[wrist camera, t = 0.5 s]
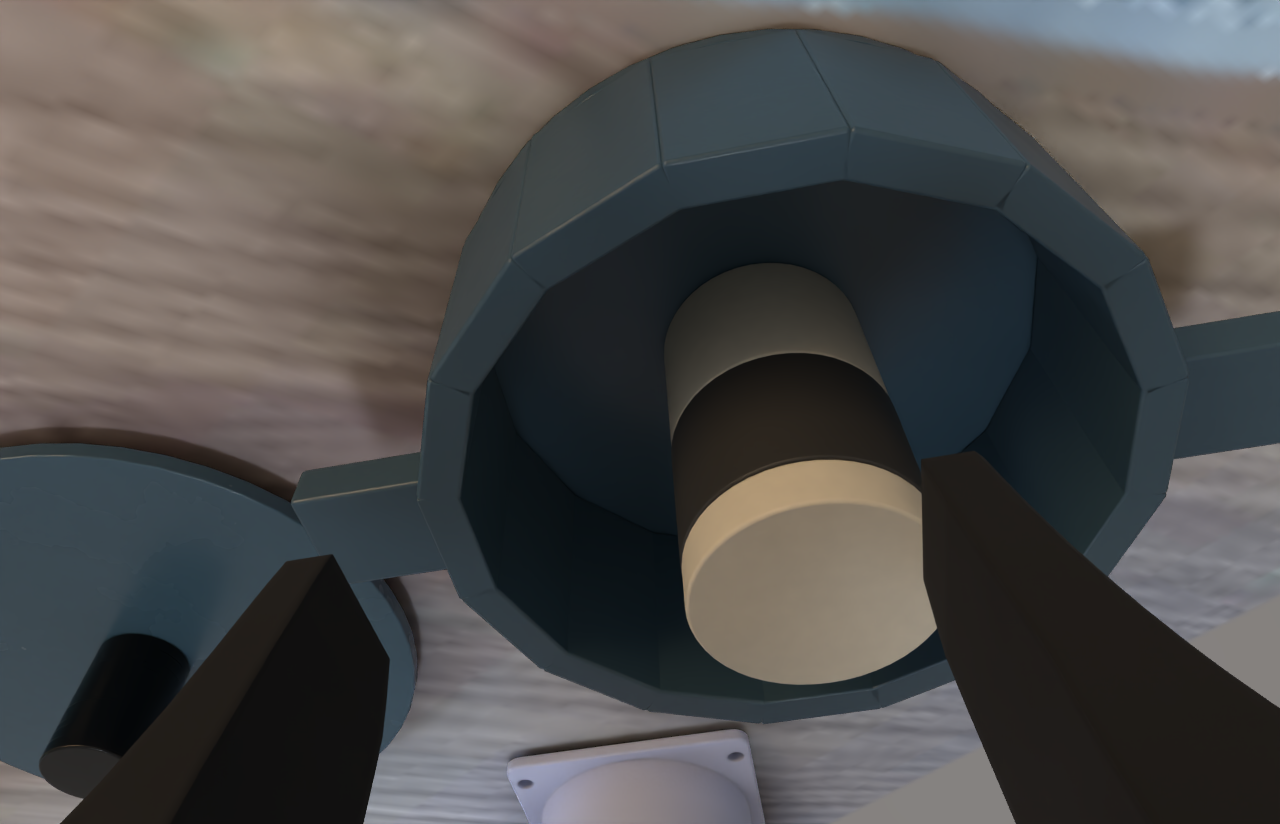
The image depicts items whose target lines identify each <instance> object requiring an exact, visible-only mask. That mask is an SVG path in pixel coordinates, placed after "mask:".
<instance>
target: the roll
mask: <svg viewBox="0 0 1280 824" xmlns="http://www.w3.org/2000/svg"><path fill="white" fill-rule="evenodd" d="M664 363H665V375H666V387H667V399H668V411H669V422H670V434H671V446H672V447H671V459H672V471H673V483H674V495H675V507H676V520H677V532H678V544H679V556H680V566H681V573H682V578H683V590H684V602H685V611H686V618H687V621H688V624H689V627H690V629H691V631H692V633H693V634H694V636H695V638H696V640H697V641H698V642H699V643H700V645H701V646H702V647H703V648H704V650H705V651H706V652H708V653H709V654H710V655H711V656H712V657H713V658H714V659H716V660H717V661H719V662H720V663H722V664H723V665H725V666H726V667H728V668H730V669H732V670H734V671H736V672H738V673H741V674H744V675H746V676H749V677H752V678H756V679H760V680H763V681H768V682H775V683H781V684H795V685H805V684H822V683H831V682H837V681H842V680H847V679H851V678H855V677H859V676H862V675H865V674H868V673H871V672H873V671H876V670H879V669H881V668H883V667H885V666H887V665H890V664H892V663H893V662H895V661H897V660H899V659H901V658H902V657H904V656H906V655H907V654H909V653H910V652H911V651H913V650H914V649H916V648H917V647H918V646H919V645H921V644H922V643H923V642H924V641H925V640H926V639H928V638H929V636H930V635H931V634H932V633H933V632H934V631H935V630H936V629H937V626H936V623H935V619H934V616H933V612H932V609H931V605H930V602H929V598H928V595H927V591H926V588H925V584H924V581H923V542H922V490H921V472H920V469H919V467H918V464H917V462H916V459H915V457H914V454H913V452H912V449H911V447H910V444H909V442H908V439H907V437H906V434H905V432H904V430H903V427H902V425H901V422H900V420H899V417H898V415H897V412H896V410H895V407H894V405H893V403H892V401H891V399H890V397H889V395H888V393H887V390H886V388H885V385H884V383H883V380H882V378H881V375H880V373H879V370H878V368H877V365H876V363H875V360H874V358H873V355H872V353H871V350H870V348H869V345H868V343H867V340H866V338H865V335H864V333H863V330H862V328H861V325H860V323H859V320H858V318H857V315H856V313H855V311H854V309H853V307H852V305H851V303H850V302H849V300H848V299H847V297H846V296H845V294H844V293H843V292H842V291H841V290H840V289H839V288H838V287H837V286H836V285H834V284H833V283H832V282H831V281H829V280H828V279H827V278H825V277H823V276H821V275H819V274H818V273H816V272H813V271H811V270H808V269H805V268H803V267H799V266H795V265H791V264H782V263H759V264H751V265H746V266H742V267H738V268H735V269H732V270H729V271H727V272H724V273H722V274H720V275H718V276H716V277H714V278H712V279H711V280H709V281H708V282H706V283H704V284H703V285H701V286H700V287H699V288H698V289H697V290H695V291H694V292H693V293H692V294H691V295H690V296H689V297H688V298H687V299H686V300H685V301H684V303H683V304H682V305H681V307H680V308H679V309H678V311H677V312H676V314H675V316H674V318H673V319H672V321H671V323H670V326H669V329H668V332H667V334H666V339H665V345H664Z"/></svg>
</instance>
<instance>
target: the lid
mask: <svg viewBox="0 0 1280 824" xmlns="http://www.w3.org/2000/svg"><path fill="white" fill-rule="evenodd" d="M316 556H319V555H318V553H317V551H316V549H315V547H314V546H313V544H312V542H311V540H310V538H309V537H308V535H307V533H306V531H305V529H304V528H303V526H302V524H301V522H300V520H299V519H298V517H297V515H296V513H295V511H294V510H293V508H292V506H291V503H290V502H288V501H286V500H285V499H283V498H281V497H279V496H277V495H274V494H272V493H270V492H268V491H266V490H264V489H262V488H260V487H258V486H256V485H254V484H252V483H249V482H247V481H245V480H242V479H239V478H237V477H234V476H231V475H229V474H226V473H223V472H221V471H218V470H215V469H213V468H210V467H207V466H203V465H200V464H196V463H193V462H189V461H185V460H182V459H178V458H175V457H171V456H167V455H163V454H157V453H152V452H146V451H141V450H135V449H130V448H124V447H115V446H104V445H93V444H82V443H43V444H29V445H20V446H12V447H3V448H0V761H2V762H4V763H6V764H9V765H11V766H13V767H16V768H18V769H21V770H23V771H26V772H28V773H31V774H33V775H36V776H38V777H41V778H44V779H45V780H46V781H47V782H48V783H49V784H51V785H52V786H53V787H55V788H57V789H58V790H60V791H62V792H64V793H67V794H69V795H72V796H75V797H79V798H83V799H85V797H86V796H87V795H88V794H89V793H90V792H91V791H92V790H93V789H94V788H95V787H96V786H97V785H98V784H99V783H100V782H101V780H102V779H103V778H104V777H105V776H106V775H107V774H108V773H109V771H110V770H111V769H112V768H113V767H114V766H115V765H116V764H117V762H118V761H119V760H120V759H121V758H122V757H123V756H124V755H125V753H126V752H127V751H128V750H129V749H130V748H131V747H132V746H133V744H134V743H135V742H136V741H137V740H138V739H139V738H140V736H141V735H142V734H143V733H144V732H145V731H146V730H147V729H148V727H149V726H150V725H151V724H152V723H153V722H154V721H155V720H156V718H157V717H158V716H159V715H160V714H161V713H162V712H163V711H164V709H165V708H166V707H167V706H168V705H169V704H170V702H171V701H172V700H173V699H174V698H175V696H176V695H177V694H178V693H179V691H180V690H181V689H182V688H183V687H184V685H185V684H186V683H187V682H188V680H189V679H190V678H191V677H192V676H193V674H194V673H195V672H196V671H197V670H198V668H199V667H200V666H201V665H202V663H203V662H204V661H205V660H206V659H207V657H208V656H209V655H210V654H211V652H212V651H213V650H214V649H215V648H216V646H217V645H218V644H219V643H220V641H221V640H222V639H223V638H224V636H225V635H226V634H227V633H228V631H229V630H230V629H231V628H232V626H233V625H234V624H235V623H236V621H237V620H238V619H239V618H240V616H241V615H242V614H243V613H244V611H245V610H246V609H247V608H248V607H249V605H250V604H251V603H252V602H253V600H254V599H255V598H256V597H257V595H258V594H259V593H260V592H261V590H262V589H263V588H264V587H265V586H266V584H267V583H268V582H269V581H270V580H271V578H272V577H273V576H274V575H275V574H276V573H277V571H278V570H279V569H280V568H281V567H282V566H283V564H284V563H285V562H286V561H291V560H298V559H304V558H310V557H316ZM349 585H350V587H351V588H352V590H353V592H354V594H355V596H356V598H357V599H358V601H359V603H360V605H361V607H362V609H363V610H364V612H365V614H366V616H367V618H368V620H369V621H370V623H371V625H372V627H373V629H374V631H375V632H376V634H377V636H378V638H379V640H380V642H381V643H382V645H383V647H384V649H385V651H386V653H387V654H388V656H389V658H390V666H389V678H388V691H387V703H386V712H385V721H384V730H383V738H382V743H381V747H380V752H379V753H381V752H382V751H383V750H384V749H385V748H386V747H387V746H388V745H389V744H390V742H391V741H392V740H393V738H394V737H395V735H396V734H397V733H398V731H399V730H400V729H401V727H402V725H403V723H404V721H405V719H406V717H407V715H408V712H409V710H410V708H411V703H412V699H413V694H414V690H415V685H416V680H417V653H416V648H415V643H414V638H413V633H412V631H411V628H410V626H409V623H408V621H407V618H406V616H405V613H404V611H403V609H402V607H401V605H400V604H399V602H398V600H397V599H396V597H395V595H394V594H393V592H392V590H391V589H390V587H389V586H388V585H387V583H386V582H385V581H384V580H383V579H379V580H373V581H366V582H360V583H353V584H349Z"/></svg>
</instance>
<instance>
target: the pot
mask: <svg viewBox="0 0 1280 824" xmlns="http://www.w3.org/2000/svg"><path fill="white" fill-rule="evenodd" d="M759 263H782V264H791V265H795V266H799V267H803V268H805V269H808V270H811V271H813V272H816V273H818V274H819V275H821V276H823V277H825V278H827V279H828V280H829V281H831V282H832V283H833V284H834V285H836V286H837V287H838V288H839V289H840V290H841V291H842V292H843V293H844V294H845V296H846V297H847V299H848V300H849V302H850V303H851V305H852V307H853V309H854V311H855V313H856V315H857V318H858V320H859V323H860V325H861V328H862V330H863V333H864V335H865V338H866V340H867V343H868V345H869V348H870V350H871V353H872V355H873V358H874V360H875V363H876V365H877V368H878V370H879V373H880V375H881V378H882V380H883V383H884V385H885V388H886V390H887V393H888V395H889V397H890V399H891V401H892V403H893V405H894V407H895V410H896V412H897V415H898V417H899V420H900V422H901V425H902V427H903V430H904V432H905V434H906V437H907V439H908V442H909V444H910V447H911V449H912V452H913V454H914V457H915V459H916V462H917V464H918V467H919V469H920V472H921V459H925V458H931V457H938V456H944V455H950V454H956V453H963V452H969V451H975V452H977V453H978V454H980V455H981V456H983V457H984V458H985V459H986V460H987V461H988V463H989V464H990V465H991V466H992V467H993V468H994V469H995V470H996V471H997V472H998V473H999V474H1000V475H1001V476H1002V477H1003V478H1004V479H1005V480H1006V481H1007V482H1008V483H1009V484H1010V485H1011V486H1012V487H1013V488H1014V489H1015V491H1016V492H1017V493H1018V494H1019V495H1020V496H1021V497H1022V498H1023V499H1024V500H1025V501H1026V502H1027V503H1028V504H1029V505H1030V506H1032V507H1033V508H1034V509H1035V510H1036V511H1037V512H1038V513H1039V514H1040V515H1041V516H1042V517H1043V518H1044V519H1045V520H1046V521H1047V522H1048V523H1049V524H1050V525H1051V526H1052V527H1053V528H1054V529H1055V530H1056V531H1057V532H1059V533H1060V534H1061V535H1062V536H1063V537H1064V538H1065V539H1066V540H1067V541H1068V542H1069V543H1070V544H1071V545H1073V546H1074V547H1075V548H1076V549H1077V550H1078V551H1079V552H1080V553H1082V554H1083V555H1084V556H1085V557H1086V558H1087V559H1088V560H1089V561H1091V562H1092V563H1093V564H1094V565H1095V566H1096V567H1097V568H1098V569H1100V570H1101V571H1102V572H1103V573H1104V574H1105V575H1106V576H1107V577H1108V576H1109V574H1110V573H1111V571H1112V570H1113V569H1114V567H1115V566H1116V564H1117V563H1118V562H1119V560H1120V559H1121V558H1122V556H1123V555H1124V553H1125V552H1126V551H1127V549H1128V548H1129V546H1130V545H1131V544H1132V542H1133V541H1134V540H1135V538H1136V537H1137V535H1138V534H1139V533H1140V531H1141V530H1142V529H1143V527H1144V526H1145V524H1146V523H1147V522H1148V520H1149V519H1150V517H1151V516H1152V515H1153V513H1154V512H1155V511H1156V509H1157V508H1158V506H1159V505H1160V504H1161V502H1162V501H1163V499H1164V498H1165V497H1166V493H1165V492H1166V491H1167V489H1168V484H1169V479H1170V474H1171V469H1172V464H1173V459H1179V458H1185V457H1192V456H1198V455H1205V454H1212V453H1218V452H1225V451H1231V450H1238V449H1244V448H1251V447H1258V446H1264V445H1271V444H1277V443H1280V311H1276V312H1270V313H1264V314H1258V315H1252V316H1246V317H1240V318H1234V319H1228V320H1221V321H1215V322H1209V323H1203V324H1197V325H1191V326H1185V327H1179V328H1173V325H1172V323H1171V320H1170V317H1169V314H1168V312H1167V309H1166V306H1165V303H1164V300H1163V298H1162V295H1161V292H1160V289H1159V287H1158V284H1157V281H1156V278H1155V276H1154V273H1153V270H1152V267H1151V264H1150V262H1149V259H1148V258H1147V257H1146V256H1145V254H1144V252H1143V251H1142V250H1141V249H1140V248H1139V247H1138V246H1137V245H1136V244H1135V243H1134V242H1133V241H1132V240H1131V239H1130V238H1129V237H1128V236H1127V234H1126V233H1125V232H1124V231H1123V230H1122V229H1121V228H1120V227H1119V226H1118V225H1117V224H1116V223H1115V222H1114V221H1113V220H1112V219H1111V218H1110V217H1109V216H1108V215H1107V214H1106V213H1105V212H1104V211H1103V210H1102V209H1101V208H1100V207H1099V206H1098V204H1097V203H1096V202H1095V201H1094V200H1093V199H1092V198H1091V197H1090V196H1089V195H1088V194H1087V193H1086V192H1085V191H1084V190H1083V189H1082V188H1081V187H1080V186H1079V185H1078V184H1077V183H1076V182H1075V181H1074V180H1073V179H1072V178H1071V177H1070V175H1069V174H1068V173H1067V172H1066V171H1065V170H1064V169H1063V168H1062V167H1061V166H1060V165H1059V164H1058V163H1057V162H1056V161H1055V160H1054V159H1053V158H1052V157H1051V156H1050V155H1049V154H1048V153H1047V152H1046V151H1045V150H1044V149H1043V148H1042V147H1041V145H1040V144H1039V143H1038V142H1037V141H1036V140H1035V139H1034V138H1033V137H1032V136H1031V135H1029V134H1028V133H1027V132H1026V131H1024V130H1023V129H1022V128H1021V127H1019V126H1018V125H1017V124H1016V123H1014V122H1013V121H1012V120H1011V119H1009V118H1008V117H1007V116H1006V115H1004V114H1003V113H1002V112H1001V111H999V110H998V109H997V108H996V107H994V106H993V105H992V104H991V103H990V102H989V101H988V100H987V99H986V98H985V97H984V96H983V95H982V94H981V93H980V92H978V91H977V90H976V89H974V88H973V87H971V86H970V85H968V84H967V83H965V82H964V81H962V80H961V79H960V78H958V77H957V76H956V75H955V74H953V73H952V72H951V71H950V70H948V69H947V68H946V67H945V66H943V65H942V64H941V63H940V62H938V61H934V60H933V59H931V58H927V57H922V56H918V55H916V54H913V53H911V52H909V51H907V50H905V49H902V48H899V47H895V46H892V45H889V44H885V43H882V42H879V41H875V40H872V39H869V38H865V37H862V36H856V35H849V34H842V33H836V32H829V31H822V30H815V29H765V30H757V31H749V32H741V33H734V34H726V35H719V36H715V37H711V38H708V39H704V40H700V41H697V42H693V43H689V44H685V45H682V46H678V47H674V48H671V49H669V50H667V51H664V52H662V53H659V54H657V55H655V56H652V57H650V58H647V59H645V60H643V61H640V62H638V63H635V64H633V65H631V66H628V67H627V68H625V69H623V70H622V71H620V72H618V73H616V74H615V75H613V76H611V77H609V78H608V79H606V80H604V81H603V82H601V83H599V84H597V85H596V86H594V87H592V88H591V89H589V90H588V91H586V92H585V93H584V94H582V95H581V96H580V97H579V98H577V99H576V100H575V101H573V102H572V103H571V104H570V105H568V106H567V107H566V108H564V109H563V110H562V111H560V112H559V113H558V114H557V115H555V116H554V117H553V118H552V119H551V120H550V121H549V122H548V123H547V124H546V125H545V126H544V127H543V128H542V129H541V130H540V131H539V132H538V133H536V134H535V135H534V136H533V137H532V139H531V140H530V141H528V142H527V144H526V146H525V147H524V148H523V149H522V150H521V151H520V153H519V154H518V156H517V157H516V158H515V160H514V161H513V162H512V164H511V165H510V166H509V168H508V169H507V170H506V172H505V173H504V175H503V176H502V177H501V179H500V180H499V181H498V183H497V185H496V187H495V189H494V191H493V193H492V194H491V196H490V198H489V200H488V202H487V204H486V206H485V208H484V209H483V211H482V213H481V215H480V217H479V220H478V222H477V223H476V225H475V226H474V228H473V229H472V231H471V233H470V234H469V236H468V237H467V239H466V241H465V245H464V247H463V249H462V253H461V257H460V261H459V264H458V268H457V272H456V276H455V279H454V283H453V287H452V291H451V294H450V298H449V302H448V306H447V309H446V313H445V317H444V321H443V324H442V328H441V332H440V336H439V340H438V343H437V347H436V351H435V355H434V358H433V362H432V366H431V370H430V373H429V377H428V381H427V390H426V400H425V410H424V421H423V431H422V442H421V452H418V453H412V454H405V455H399V456H393V457H387V458H381V459H375V460H369V461H363V462H357V463H350V464H344V465H338V466H332V467H326V468H320V469H314V470H308V471H305V472H303V473H302V475H301V477H300V480H299V482H298V485H297V487H296V490H295V492H294V495H293V497H292V500H291V506H292V508H293V510H294V511H295V513H296V515H297V517H298V519H299V520H300V522H301V524H302V526H303V528H304V529H305V531H306V533H307V535H308V537H309V538H310V540H311V542H312V544H313V546H314V547H315V549H316V551H317V553H318V555H319V556H322V555H329V554H333V555H334V557H335V559H336V561H337V563H338V565H339V566H340V568H341V570H342V572H343V574H344V576H345V577H346V579H347V581H348V583H349V584H353V583H360V582H366V581H373V580H379V579H386V578H393V577H399V576H406V575H412V574H419V573H426V572H432V571H439V570H445V569H447V570H448V573H449V575H450V577H451V579H452V582H453V584H454V586H455V588H456V591H457V593H458V595H459V598H461V599H462V600H463V601H464V602H465V603H466V604H467V605H468V606H469V607H470V608H472V609H473V610H474V611H475V612H476V613H477V614H478V615H480V616H481V617H482V618H483V619H484V620H485V621H486V622H488V623H489V624H490V625H491V626H492V627H493V628H494V629H496V630H497V631H498V632H499V633H500V634H501V635H502V636H504V637H505V638H506V639H507V640H508V641H509V642H510V643H512V644H513V645H514V646H515V647H516V648H517V649H519V650H520V651H521V652H522V653H523V654H524V655H525V656H527V657H528V658H529V659H530V660H531V661H532V662H533V663H535V664H536V665H537V666H538V667H539V668H541V669H544V670H545V671H546V672H549V673H551V674H554V675H556V676H559V677H561V678H564V679H566V680H569V681H571V682H574V683H576V684H579V685H581V686H584V687H586V688H589V689H591V690H594V691H597V692H599V693H602V694H604V695H607V696H609V697H612V698H614V699H617V700H619V701H622V702H624V703H627V704H629V705H632V706H634V707H637V708H639V709H642V710H648V711H649V712H657V713H667V714H676V715H685V716H695V717H704V718H713V719H723V720H732V721H741V722H751V723H761V722H762V723H763V724H768V723H776V722H783V721H791V720H798V719H806V718H813V717H821V716H829V715H836V714H844V713H851V712H859V711H866V710H874V709H880V708H881V707H882V708H884V707H887V706H889V705H892V704H895V703H897V702H900V701H902V700H905V699H908V698H910V697H913V696H915V695H918V694H921V693H923V692H926V691H928V690H931V689H934V688H936V687H939V686H941V685H944V684H947V683H949V682H952V681H954V680H955V678H954V676H953V673H952V671H951V669H950V666H949V664H948V661H947V659H946V656H945V653H944V649H943V646H942V643H941V639H940V636H939V633H938V629H936V630H935V631H934V632H933V633H932V634H931V635H930V636H929V638H928V639H926V640H925V641H924V642H923V643H922V644H921V645H919V646H918V647H917V648H916V649H914V650H913V651H911V652H910V653H909V654H907V655H906V656H904V657H902V658H901V659H899V660H897V661H895V662H893V663H892V664H890V665H887V666H885V667H883V668H881V669H879V670H876V671H873V672H871V673H868V674H865V675H862V676H859V677H855V678H851V679H847V680H842V681H837V682H831V683H822V684H805V685H795V684H781V683H775V682H768V681H763V680H760V679H756V678H752V677H749V676H746V675H744V674H741V673H738V672H736V671H734V670H732V669H730V668H728V667H726V666H725V665H723V664H722V663H720V662H719V661H717V660H716V659H714V658H713V657H712V656H711V655H710V654H709V653H708V652H706V651H705V650H704V648H703V647H702V646H701V645H700V643H699V642H698V641H697V640H696V638H695V636H694V634H693V633H692V631H691V629H690V627H689V624H688V621H687V618H686V611H685V602H684V590H683V578H682V573H681V566H680V556H679V544H678V532H677V520H676V507H675V495H674V483H673V471H672V459H671V447H672V446H671V434H670V422H669V411H668V399H667V387H666V375H665V363H664V345H665V339H666V334H667V332H668V329H669V326H670V323H671V321H672V319H673V318H674V316H675V314H676V312H677V311H678V309H679V308H680V307H681V305H682V304H683V303H684V301H685V300H686V299H687V298H688V297H689V296H690V295H691V294H692V293H693V292H694V291H695V290H697V289H698V288H699V287H700V286H701V285H703V284H704V283H706V282H708V281H709V280H711V279H712V278H714V277H716V276H718V275H720V274H722V273H724V272H727V271H729V270H732V269H735V268H738V267H742V266H746V265H751V264H759Z"/></svg>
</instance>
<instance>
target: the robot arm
mask: <svg viewBox="0 0 1280 824" xmlns="http://www.w3.org/2000/svg"><path fill="white" fill-rule="evenodd" d="M921 490H922V542H923V581H924V584H925V588H926V591H927V595H928V598H929V602H930V605H931V609H932V612H933V616H934V619H935V623H936V626H937V629H938V633H939V636H940V639H941V643H942V646H943V649H944V653H945V656H946V659H947V661H948V664H949V666H950V669H951V671H952V673H953V676H954V678H955V681H956V683H957V685H958V688H959V690H960V693H961V695H962V697H963V700H964V702H965V704H966V707H967V709H968V712H969V714H970V716H971V719H972V721H973V724H974V726H975V728H976V731H977V733H978V735H979V738H980V740H981V742H982V745H983V747H984V749H985V752H986V754H987V756H988V759H989V761H990V764H991V766H992V768H993V771H994V773H995V775H996V778H997V780H998V782H999V785H1000V787H1001V789H1002V792H1003V794H1004V796H1005V799H1006V801H1007V804H1008V806H1009V808H1010V811H1011V813H1012V815H1013V818H1014V820H1015V822H1016V824H1280V708H1279V707H1277V706H1276V705H1274V704H1273V703H1271V702H1270V701H1268V700H1267V699H1266V698H1264V697H1263V696H1261V695H1260V694H1258V693H1257V692H1256V691H1254V690H1253V689H1251V688H1250V687H1248V686H1247V685H1245V684H1244V683H1243V682H1241V681H1240V680H1238V679H1237V678H1235V677H1234V676H1233V675H1231V674H1230V673H1228V672H1227V671H1225V670H1224V669H1223V668H1221V667H1220V666H1219V665H1217V664H1216V663H1215V662H1213V661H1212V660H1211V659H1209V658H1208V657H1206V656H1205V655H1204V654H1203V653H1201V652H1200V651H1199V650H1197V649H1196V648H1195V647H1193V646H1192V645H1191V644H1189V643H1188V642H1187V641H1185V640H1184V639H1183V638H1182V637H1180V636H1179V635H1178V634H1176V633H1175V632H1174V631H1173V630H1171V629H1170V628H1169V627H1168V626H1166V625H1165V624H1164V623H1163V622H1161V621H1160V620H1159V619H1158V618H1156V617H1155V616H1154V615H1153V614H1151V613H1150V612H1149V611H1148V610H1146V609H1145V608H1144V607H1143V606H1141V605H1140V604H1139V603H1138V602H1137V601H1136V600H1134V599H1133V598H1132V597H1131V596H1130V595H1128V594H1127V593H1126V592H1125V591H1124V590H1122V589H1121V588H1120V587H1119V586H1118V585H1116V584H1115V583H1114V582H1113V581H1112V580H1111V579H1110V578H1109V577H1107V576H1106V575H1105V574H1104V573H1103V572H1102V571H1101V570H1100V569H1098V568H1097V567H1096V566H1095V565H1094V564H1093V563H1092V562H1091V561H1089V560H1088V559H1087V558H1086V557H1085V556H1084V555H1083V554H1082V553H1080V552H1079V551H1078V550H1077V549H1076V548H1075V547H1074V546H1073V545H1071V544H1070V543H1069V542H1068V541H1067V540H1066V539H1065V538H1064V537H1063V536H1062V535H1061V534H1060V533H1059V532H1057V531H1056V530H1055V529H1054V528H1053V527H1052V526H1051V525H1050V524H1049V523H1048V522H1047V521H1046V520H1045V519H1044V518H1043V517H1042V516H1041V515H1040V514H1039V513H1038V512H1037V511H1036V510H1035V509H1034V508H1033V507H1032V506H1030V505H1029V504H1028V503H1027V502H1026V501H1025V500H1024V499H1023V498H1022V497H1021V496H1020V495H1019V494H1018V493H1017V492H1016V491H1015V489H1014V488H1013V487H1012V486H1011V485H1010V484H1009V483H1008V482H1007V481H1006V480H1005V479H1004V478H1003V477H1002V476H1001V475H1000V474H999V473H998V472H997V471H996V470H995V469H994V468H993V467H992V466H991V465H990V464H989V463H988V461H987V460H986V459H985V458H984V457H983V456H981V455H980V454H978V453H977V452H975V451H969V452H963V453H956V454H950V455H944V456H938V457H931V458H925V459H921ZM389 666H390V658H389V656H388V654H387V653H386V651H385V649H384V647H383V645H382V643H381V642H380V640H379V638H378V636H377V634H376V632H375V631H374V629H373V627H372V625H371V623H370V621H369V620H368V618H367V616H366V614H365V612H364V610H363V609H362V607H361V605H360V603H359V601H358V599H357V598H356V596H355V594H354V592H353V590H352V588H351V587H350V585H349V583H348V581H347V579H346V577H345V576H344V574H343V572H342V570H341V568H340V566H339V565H338V563H337V561H336V559H335V557H334V555H333V554H329V555H322V556H316V557H310V558H304V559H298V560H291V561H286V562H285V563H284V564H283V566H282V567H281V568H280V569H279V570H278V571H277V573H276V574H275V575H274V576H273V577H272V578H271V580H270V581H269V582H268V583H267V584H266V586H265V587H264V588H263V589H262V590H261V592H260V593H259V594H258V595H257V597H256V598H255V599H254V600H253V602H252V603H251V604H250V605H249V607H248V608H247V609H246V610H245V611H244V613H243V614H242V615H241V616H240V618H239V619H238V620H237V621H236V623H235V624H234V625H233V626H232V628H231V629H230V630H229V631H228V633H227V634H226V635H225V636H224V638H223V639H222V640H221V641H220V643H219V644H218V645H217V646H216V648H215V649H214V650H213V651H212V652H211V654H210V655H209V656H208V657H207V659H206V660H205V661H204V662H203V663H202V665H201V666H200V667H199V668H198V670H197V671H196V672H195V673H194V674H193V676H192V677H191V678H190V679H189V680H188V682H187V683H186V684H185V685H184V687H183V688H182V689H181V690H180V691H179V693H178V694H177V695H176V696H175V698H174V699H173V700H172V701H171V702H170V704H169V705H168V706H167V707H166V708H165V709H164V711H163V712H162V713H161V714H160V715H159V716H158V717H157V718H156V720H155V721H154V722H153V723H152V724H151V725H150V726H149V727H148V729H147V730H146V731H145V732H144V733H143V734H142V735H141V736H140V738H139V739H138V740H137V741H136V742H135V743H134V744H133V746H132V747H131V748H130V749H129V750H128V751H127V752H126V753H125V755H124V756H123V757H122V758H121V759H120V760H119V761H118V762H117V764H116V765H115V766H114V767H113V768H112V769H111V770H110V771H109V773H108V774H107V775H106V776H105V777H104V778H103V779H102V780H101V782H100V783H99V784H98V785H97V786H96V787H95V788H94V789H93V790H92V791H91V792H90V793H89V794H88V795H87V796H86V797H85V799H84V800H83V801H82V802H81V803H80V804H79V805H78V806H77V807H76V808H75V809H74V810H73V811H72V812H71V813H70V814H69V815H68V816H67V817H66V818H65V819H64V820H63V821H62V822H61V823H60V824H363V822H364V818H365V814H366V810H367V805H368V801H369V797H370V792H371V788H372V783H373V779H374V775H375V770H376V766H377V761H378V757H379V752H380V747H381V743H382V738H383V730H384V721H385V712H386V703H387V691H388V678H389ZM507 777H508V779H509V781H510V783H511V785H512V787H513V790H514V792H515V794H516V796H517V798H518V800H519V802H520V804H521V806H522V808H523V810H524V813H525V815H526V817H527V819H528V821H529V823H530V824H765V819H764V814H763V809H762V804H761V799H760V794H759V789H758V784H757V779H756V773H755V768H754V763H753V758H752V753H751V748H750V743H749V738H748V735H747V734H746V733H745V732H744V731H742V730H738V729H728V730H720V731H713V732H705V733H698V734H690V735H683V736H675V737H668V738H660V739H653V740H645V741H637V742H630V743H622V744H615V745H607V746H600V747H592V748H585V749H577V750H570V751H562V752H555V753H547V754H539V755H532V756H524V757H518V758H514V759H513V760H511V761H510V762H509V763H508V765H507Z"/></svg>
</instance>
